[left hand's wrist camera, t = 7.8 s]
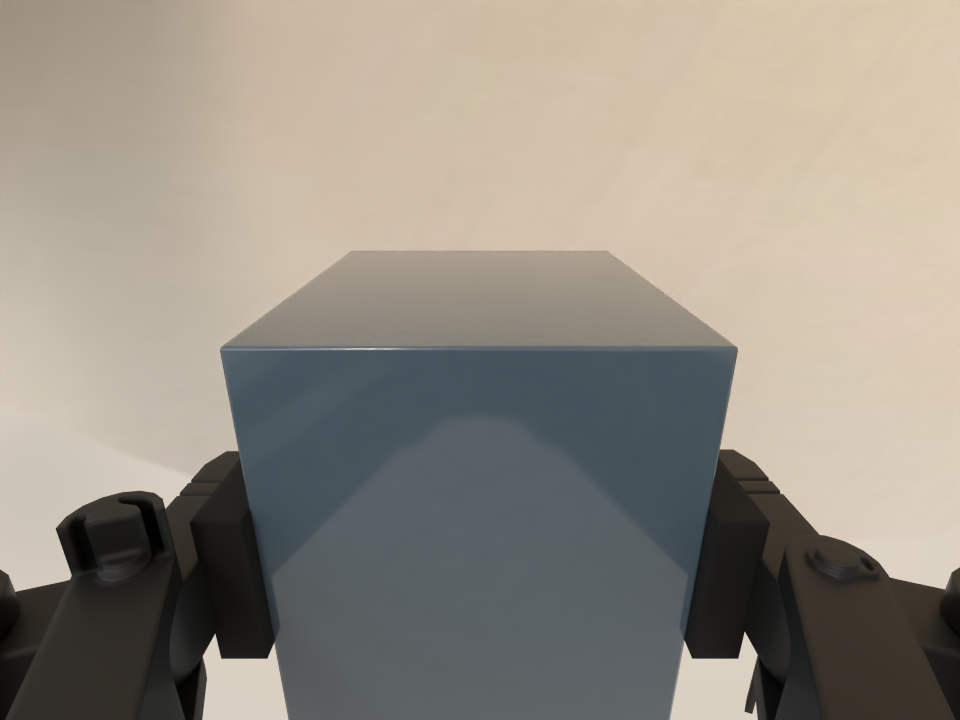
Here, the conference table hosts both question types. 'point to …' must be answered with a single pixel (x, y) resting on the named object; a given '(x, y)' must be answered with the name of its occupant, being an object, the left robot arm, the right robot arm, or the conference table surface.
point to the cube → (479, 484)
